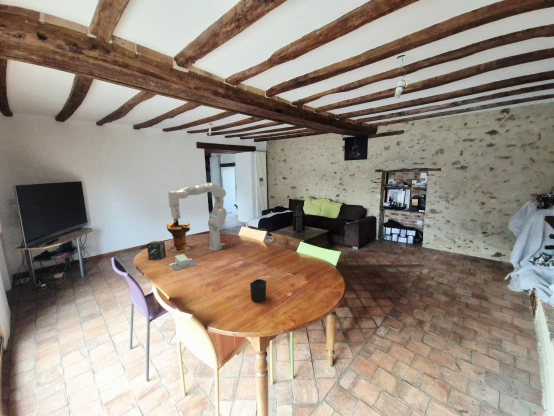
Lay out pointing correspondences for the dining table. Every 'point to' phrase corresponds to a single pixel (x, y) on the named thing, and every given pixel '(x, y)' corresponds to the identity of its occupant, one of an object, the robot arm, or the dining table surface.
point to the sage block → (181, 260)
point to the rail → (176, 263)
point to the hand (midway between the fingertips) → (176, 226)
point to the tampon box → (156, 250)
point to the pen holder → (258, 290)
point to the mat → (183, 266)
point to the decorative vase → (179, 236)
